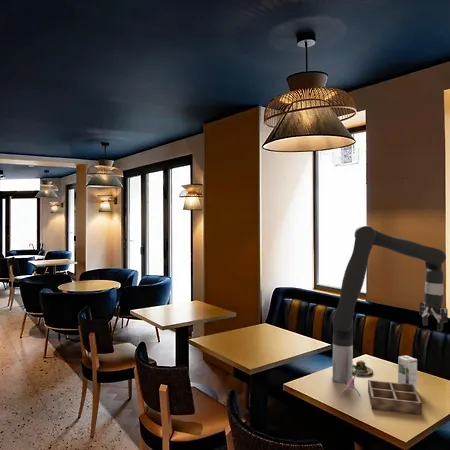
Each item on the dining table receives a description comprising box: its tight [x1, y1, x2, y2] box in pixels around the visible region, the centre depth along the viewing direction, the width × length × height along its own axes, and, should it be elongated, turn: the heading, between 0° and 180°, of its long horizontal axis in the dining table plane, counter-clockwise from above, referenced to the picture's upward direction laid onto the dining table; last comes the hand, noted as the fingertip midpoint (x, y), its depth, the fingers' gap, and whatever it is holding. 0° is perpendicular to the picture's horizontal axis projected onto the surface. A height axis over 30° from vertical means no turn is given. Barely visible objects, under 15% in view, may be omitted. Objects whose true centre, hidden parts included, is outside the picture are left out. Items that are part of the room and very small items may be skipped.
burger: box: [353, 359, 374, 376], centre depth 198 cm, size 12×12×8 cm
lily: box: [339, 373, 361, 397], centre depth 173 cm, size 12×12×10 cm
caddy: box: [367, 379, 423, 416], centre depth 166 cm, size 18×18×5 cm
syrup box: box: [397, 355, 418, 392], centre depth 178 cm, size 6×6×14 cm
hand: (432, 328), depth 178 cm, fingers open, 8 cm apart
